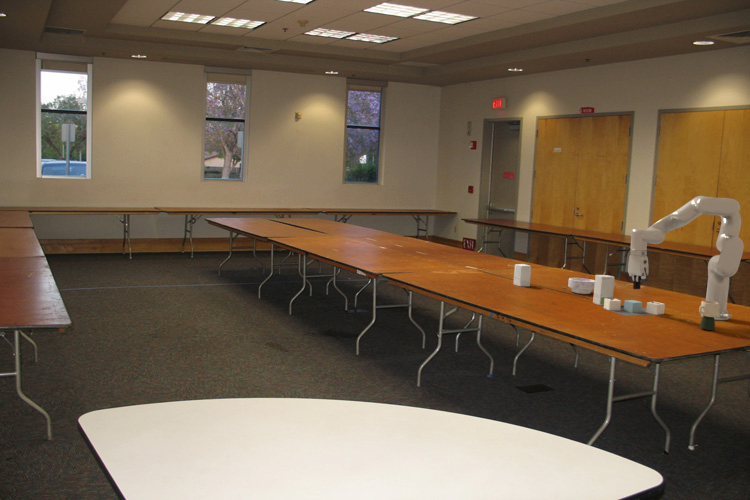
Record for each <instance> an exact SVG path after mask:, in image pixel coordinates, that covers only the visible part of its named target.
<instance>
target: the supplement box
mask: <svg viewBox="0 0 750 500" xmlns="http://www.w3.org/2000/svg"><path fill="white" fill-rule="evenodd" d="M531 272H532V265H528V264H527V263H526V264H525V263H520V264H519V263H518V264H517V263H516V264H514V271H513V285H515V286H518V287H530V286H531V277H532V276H531Z"/></svg>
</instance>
